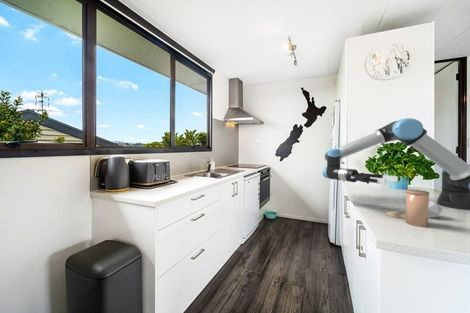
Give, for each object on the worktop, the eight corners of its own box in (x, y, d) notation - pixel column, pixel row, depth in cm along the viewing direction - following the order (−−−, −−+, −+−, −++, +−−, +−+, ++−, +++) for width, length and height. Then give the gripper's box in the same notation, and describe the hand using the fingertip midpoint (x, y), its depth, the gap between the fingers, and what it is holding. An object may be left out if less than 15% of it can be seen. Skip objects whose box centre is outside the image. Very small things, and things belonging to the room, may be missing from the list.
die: (445, 222, 91) (449, 204, 94) (426, 213, 93) (431, 195, 95) (428, 222, 99) (432, 205, 102) (411, 213, 100) (416, 197, 103)
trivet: (412, 214, 102) (412, 213, 102) (416, 220, 93) (416, 219, 93) (385, 210, 108) (385, 209, 108) (386, 216, 99) (386, 215, 99)
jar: (426, 222, 90) (427, 190, 89) (430, 228, 84) (431, 194, 83) (404, 219, 95) (404, 189, 94) (406, 224, 88) (407, 192, 88)
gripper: (359, 179, 122) (402, 185, 103) (336, 183, 109) (379, 190, 91) (360, 167, 121) (402, 171, 103) (336, 170, 109) (379, 174, 90)
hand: (391, 180), depth 97 cm, fingers open, 13 cm apart
